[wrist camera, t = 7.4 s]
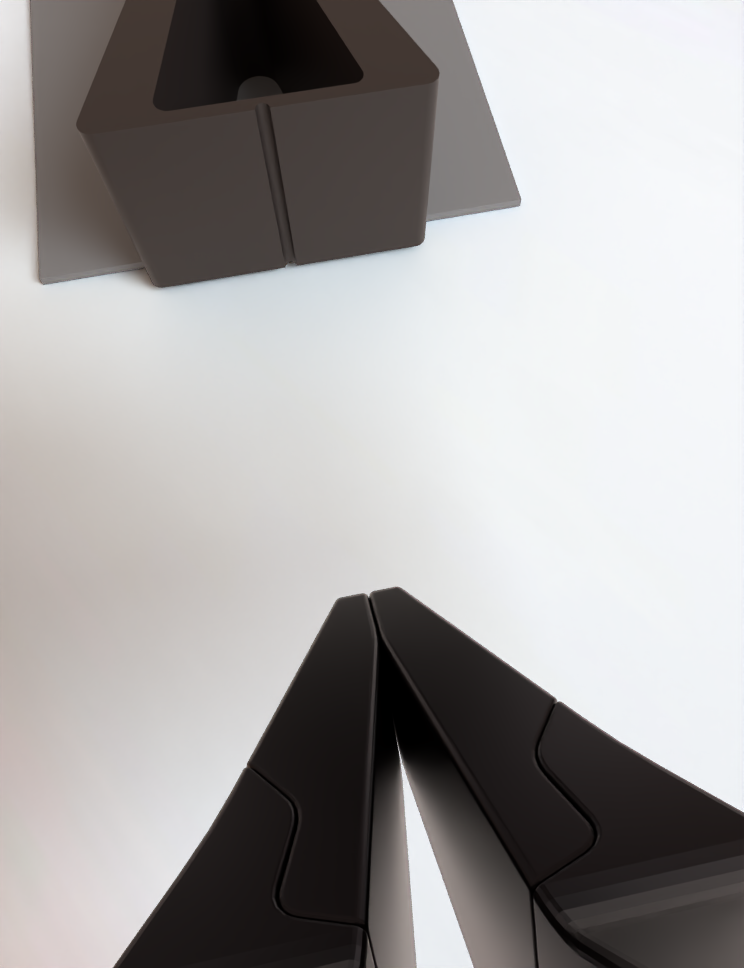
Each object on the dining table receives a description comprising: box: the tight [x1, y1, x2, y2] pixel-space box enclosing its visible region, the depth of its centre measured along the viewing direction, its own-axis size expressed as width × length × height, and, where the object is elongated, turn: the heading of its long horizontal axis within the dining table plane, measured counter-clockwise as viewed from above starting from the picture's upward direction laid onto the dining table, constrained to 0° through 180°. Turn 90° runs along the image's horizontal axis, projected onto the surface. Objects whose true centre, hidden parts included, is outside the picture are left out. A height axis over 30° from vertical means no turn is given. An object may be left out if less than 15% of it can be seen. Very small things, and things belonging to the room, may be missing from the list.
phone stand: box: [76, 0, 440, 287], centre depth 22 cm, size 9×6×12 cm
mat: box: [30, 0, 521, 284], centre depth 26 cm, size 18×16×1 cm
